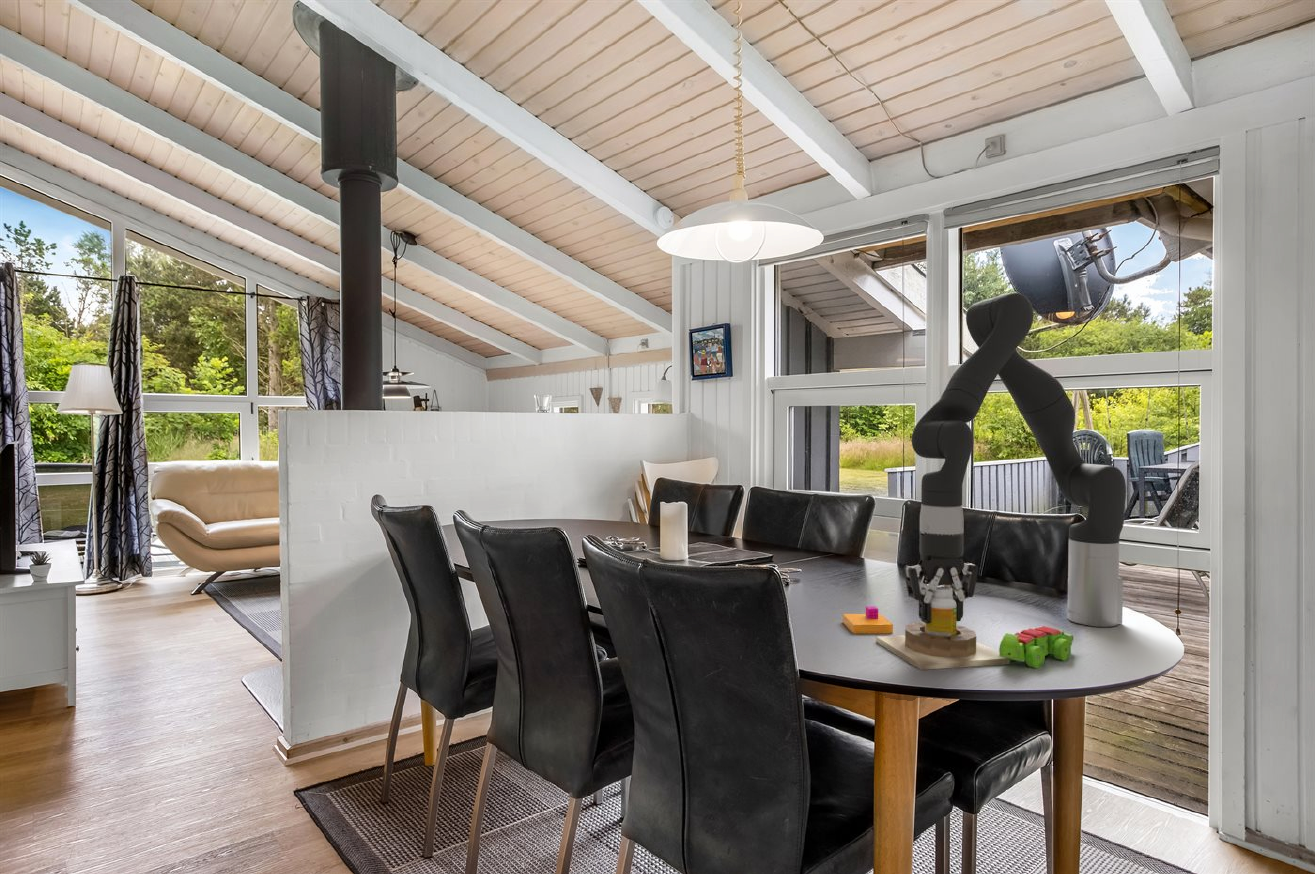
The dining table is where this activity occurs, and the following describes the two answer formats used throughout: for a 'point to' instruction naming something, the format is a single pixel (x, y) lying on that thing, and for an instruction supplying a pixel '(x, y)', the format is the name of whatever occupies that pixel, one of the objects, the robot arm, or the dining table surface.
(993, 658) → the flat beige square board
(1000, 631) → the dining table surface
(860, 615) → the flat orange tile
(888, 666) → the dining table surface
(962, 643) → the wooden ring
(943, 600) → the supplement bottle
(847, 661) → the dining table surface
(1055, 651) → the toy crocodile
